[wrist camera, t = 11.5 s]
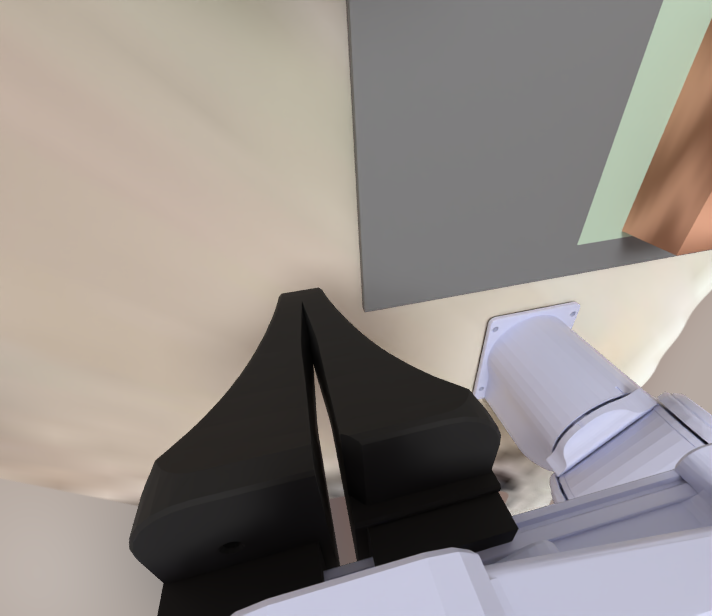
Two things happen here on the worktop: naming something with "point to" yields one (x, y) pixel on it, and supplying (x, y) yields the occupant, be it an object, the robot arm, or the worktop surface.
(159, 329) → the worktop surface
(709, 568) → the robot arm
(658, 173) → the t block
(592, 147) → the mat
